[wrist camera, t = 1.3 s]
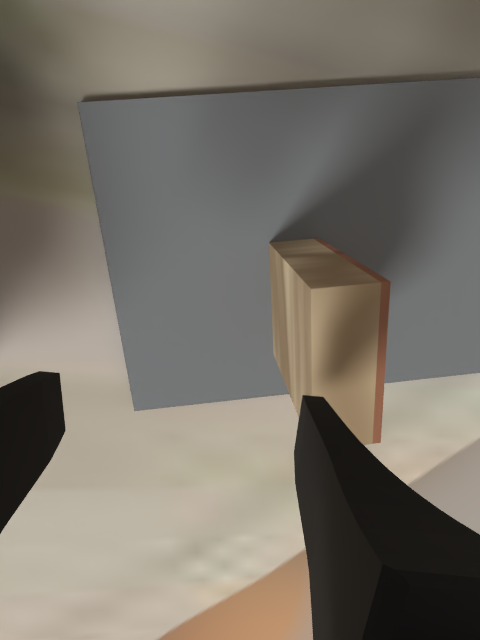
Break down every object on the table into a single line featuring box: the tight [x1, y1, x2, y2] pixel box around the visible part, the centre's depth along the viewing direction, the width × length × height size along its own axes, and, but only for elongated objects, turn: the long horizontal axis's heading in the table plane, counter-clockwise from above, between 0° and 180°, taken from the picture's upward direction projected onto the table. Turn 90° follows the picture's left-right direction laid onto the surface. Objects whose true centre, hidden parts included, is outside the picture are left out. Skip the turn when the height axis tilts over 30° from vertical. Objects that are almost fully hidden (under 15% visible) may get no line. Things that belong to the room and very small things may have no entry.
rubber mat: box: [78, 78, 480, 411], centre depth 21 cm, size 20×15×1 cm
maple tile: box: [269, 238, 391, 445], centre depth 18 cm, size 2×6×8 cm, turn 4°
